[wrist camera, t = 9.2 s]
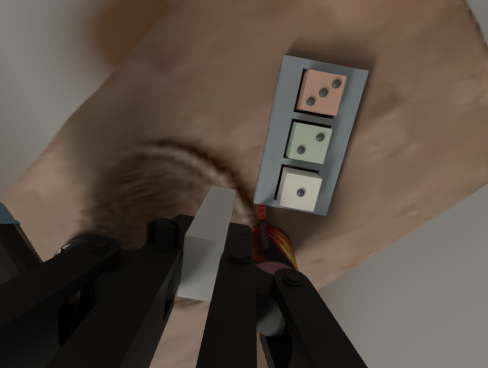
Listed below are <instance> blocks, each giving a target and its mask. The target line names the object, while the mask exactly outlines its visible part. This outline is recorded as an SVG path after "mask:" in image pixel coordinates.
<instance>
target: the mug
mask: <svg viewBox="0 0 488 368" xmlns="http://www.w3.org/2000/svg"><path fill="white" fill-rule="evenodd" d="M258 208H259V224H260V226H257V227H255V228H253V229H252V231H253V257H254V259H255V265H256V266H257V267H258V268H260V269H261V270H263V271H265V272H267V273H270V274H272V275H274V273H275V271H277V270H278V269H281V268H289V269H294V270H297V271H298V267H297V264H296V260H295V257H294V253H293V250H292V247H291V243H290V240H289V238H288V236H287V234H286V233H285V232H284V231H283V230H281V229H280V228H278V227H276V226H272V225H266V219H265V212H264V205H262V204H258Z"/></svg>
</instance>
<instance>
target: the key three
mask: <svg viewBox="0 0 488 368" xmlns="http://www.w3.org/2000/svg"><path fill="white" fill-rule="evenodd" d="M346 78H347V76H342V75H337V74H332V73H326V72H321V71H316V70H311V69H309V70H308V71H306V72H305V73H304V74H303V78H302V82H301V87H300V91H299V96H298V100H297V104H296V109H297V110H302V111H307V112H313V113H318V114H323V115H331V116H336V115H337V111H338V108H339V104H340V100H341V97H342V93H343V89H344V86H345V82H346Z"/></svg>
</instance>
